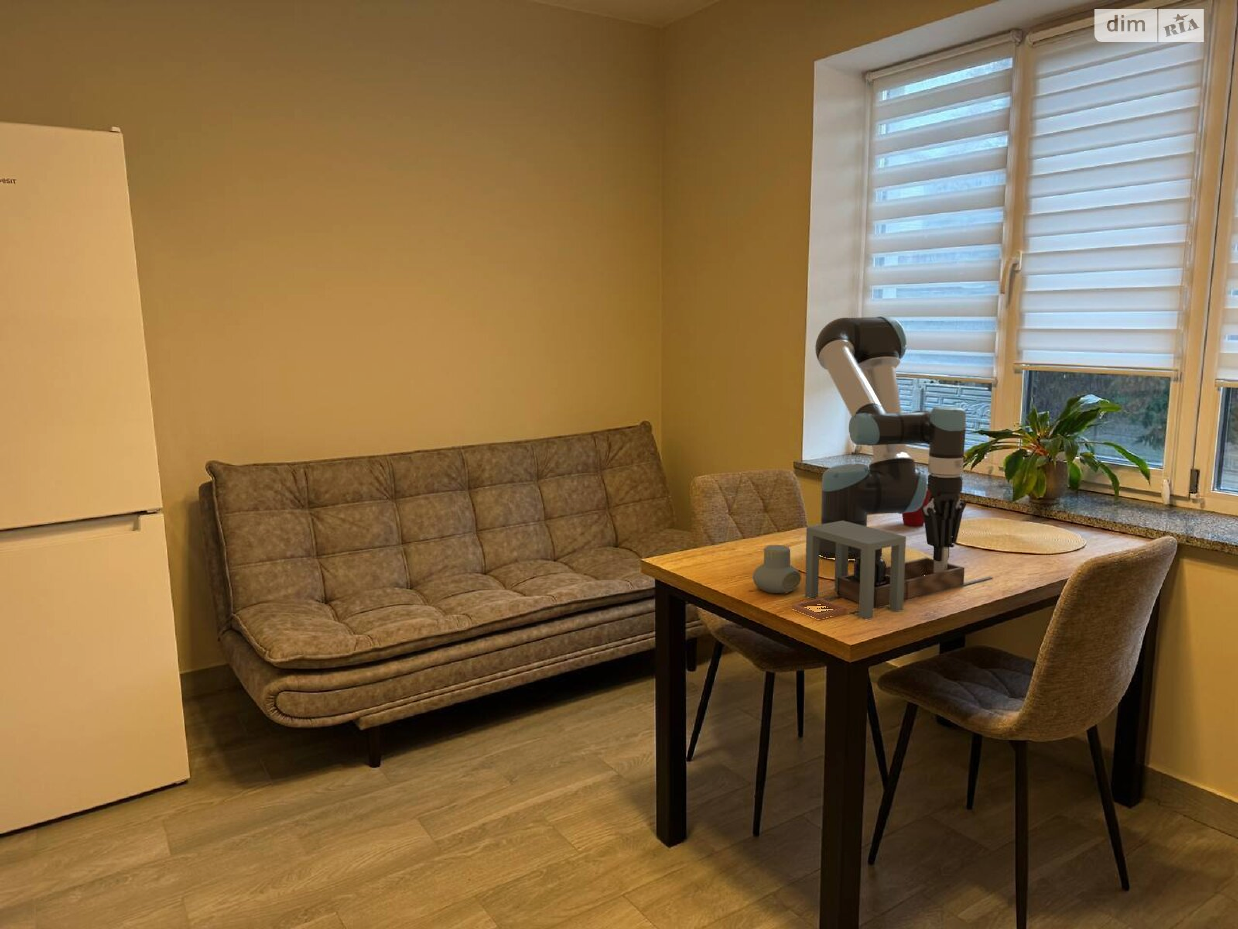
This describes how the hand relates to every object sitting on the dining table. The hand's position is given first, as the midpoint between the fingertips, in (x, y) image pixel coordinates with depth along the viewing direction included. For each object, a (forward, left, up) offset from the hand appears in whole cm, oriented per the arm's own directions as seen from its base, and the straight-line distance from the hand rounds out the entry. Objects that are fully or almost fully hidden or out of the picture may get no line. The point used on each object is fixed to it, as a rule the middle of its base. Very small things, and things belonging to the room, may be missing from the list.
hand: (940, 573), depth 203 cm
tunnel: (0, -11, -2) cm, 11 cm away
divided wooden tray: (0, -13, -2) cm, 13 cm away
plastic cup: (-42, +40, -2) cm, 58 cm away
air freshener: (-16, -36, -2) cm, 39 cm away
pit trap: (0, -38, -2) cm, 39 cm away
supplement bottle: (0, -24, -2) cm, 24 cm away
